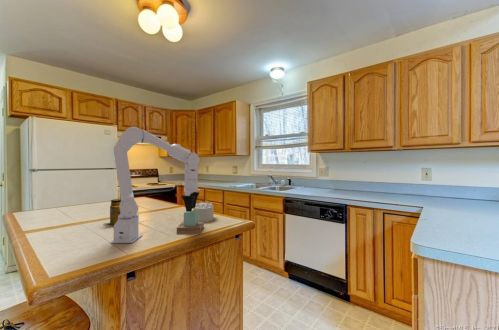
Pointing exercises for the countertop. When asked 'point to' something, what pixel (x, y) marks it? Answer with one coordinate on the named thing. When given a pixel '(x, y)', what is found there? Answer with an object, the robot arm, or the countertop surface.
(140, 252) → the countertop surface
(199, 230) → the walnut base
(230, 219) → the countertop surface
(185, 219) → the teal block
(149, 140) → the robot arm
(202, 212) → the lumpy-topped squat cylinder
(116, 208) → the condiment
